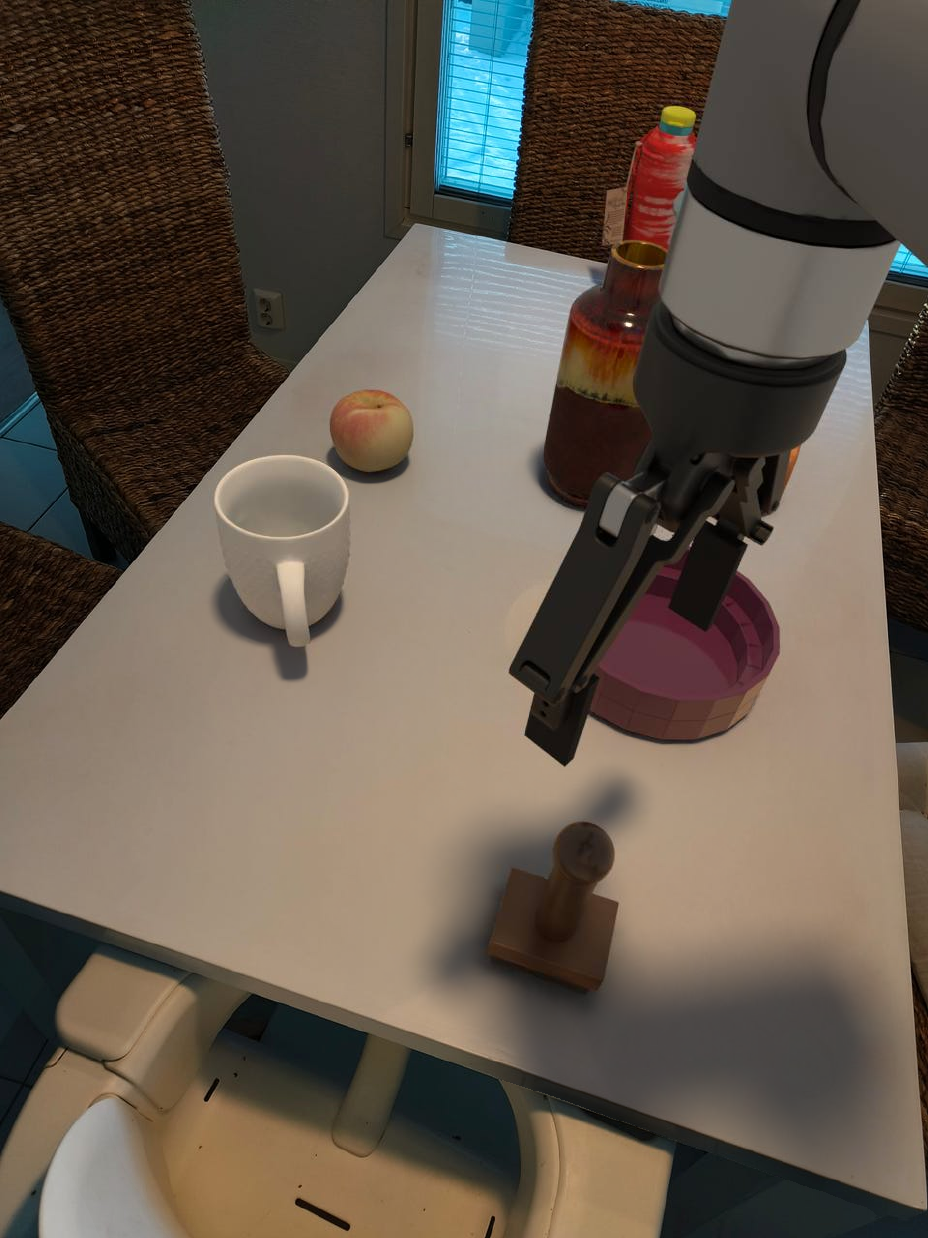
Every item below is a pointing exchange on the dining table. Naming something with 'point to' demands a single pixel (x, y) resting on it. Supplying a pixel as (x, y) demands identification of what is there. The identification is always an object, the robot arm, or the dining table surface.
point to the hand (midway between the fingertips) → (624, 677)
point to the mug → (285, 539)
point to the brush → (560, 914)
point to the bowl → (687, 663)
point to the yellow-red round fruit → (371, 430)
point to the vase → (603, 376)
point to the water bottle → (653, 182)
